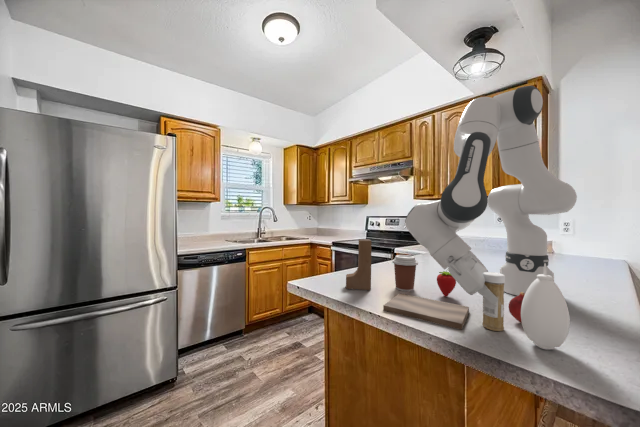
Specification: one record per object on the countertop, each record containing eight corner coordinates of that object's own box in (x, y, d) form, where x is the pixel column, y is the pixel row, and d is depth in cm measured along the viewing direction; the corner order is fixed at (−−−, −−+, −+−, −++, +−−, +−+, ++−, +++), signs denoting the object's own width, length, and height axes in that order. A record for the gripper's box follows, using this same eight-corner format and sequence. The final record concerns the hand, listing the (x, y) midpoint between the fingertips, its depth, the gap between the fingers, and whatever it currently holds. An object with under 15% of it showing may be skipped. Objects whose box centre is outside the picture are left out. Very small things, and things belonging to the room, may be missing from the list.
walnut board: (399, 297, 86) (399, 293, 86) (468, 312, 74) (469, 306, 74) (383, 310, 75) (383, 305, 75) (461, 329, 63) (461, 323, 63)
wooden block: (345, 289, 94) (346, 240, 94) (346, 285, 99) (346, 238, 99) (370, 290, 94) (371, 240, 93) (369, 286, 98) (370, 239, 98)
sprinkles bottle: (508, 331, 63) (509, 275, 62) (493, 332, 62) (494, 276, 61) (492, 323, 67) (493, 271, 67) (477, 324, 66) (478, 271, 66)
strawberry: (452, 293, 91) (453, 265, 91) (458, 301, 83) (459, 270, 83) (434, 292, 92) (435, 264, 92) (438, 299, 85) (439, 268, 85)
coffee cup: (422, 289, 95) (423, 257, 95) (408, 294, 90) (408, 259, 90) (401, 283, 102) (402, 253, 102) (386, 287, 97) (387, 255, 97)
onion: (542, 329, 64) (542, 296, 64) (515, 327, 65) (516, 295, 65) (528, 319, 69) (528, 289, 69) (504, 317, 71) (504, 288, 70)
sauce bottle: (522, 350, 54) (524, 263, 54) (518, 335, 61) (519, 258, 60) (574, 362, 50) (576, 268, 50) (563, 344, 56) (564, 262, 56)
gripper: (455, 251, 60) (507, 303, 54) (467, 243, 76) (507, 282, 71) (434, 268, 62) (481, 319, 57) (450, 256, 79) (488, 295, 73)
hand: (496, 298), depth 64 cm, fingers closed on sprinkles bottle, 4 cm apart
